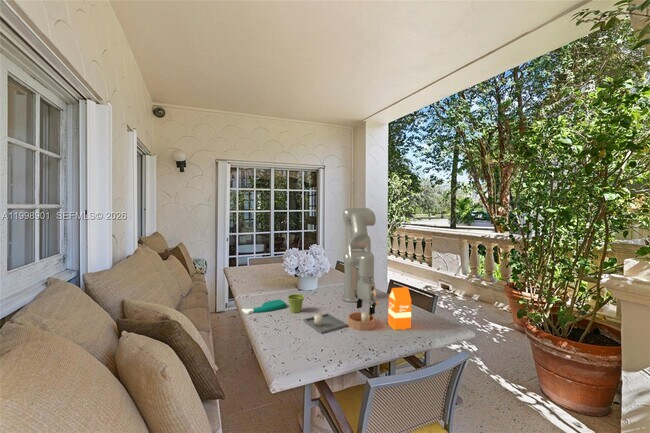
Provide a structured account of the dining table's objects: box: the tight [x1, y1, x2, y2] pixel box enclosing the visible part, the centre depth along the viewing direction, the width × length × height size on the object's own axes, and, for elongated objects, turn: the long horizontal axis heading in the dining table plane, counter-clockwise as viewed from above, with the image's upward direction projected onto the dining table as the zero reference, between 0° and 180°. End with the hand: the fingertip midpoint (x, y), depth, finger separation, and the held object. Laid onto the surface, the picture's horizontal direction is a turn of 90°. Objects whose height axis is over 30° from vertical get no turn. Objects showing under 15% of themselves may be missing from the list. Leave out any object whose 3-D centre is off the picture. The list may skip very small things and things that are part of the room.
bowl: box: [347, 311, 376, 332], centre depth 149 cm, size 13×13×4 cm
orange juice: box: [387, 286, 412, 331], centre depth 148 cm, size 8×9×20 cm
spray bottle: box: [241, 299, 288, 315], centre depth 171 cm, size 3×11×24 cm
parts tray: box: [302, 313, 348, 335], centre depth 149 cm, size 16×18×2 cm
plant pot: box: [287, 293, 305, 314], centre depth 167 cm, size 9×9×9 cm
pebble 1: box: [313, 313, 323, 327], centre depth 147 cm, size 4×4×5 cm
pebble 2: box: [361, 311, 370, 322], centre depth 150 cm, size 4×4×5 cm
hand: (365, 310), depth 151 cm, fingers open, 9 cm apart
